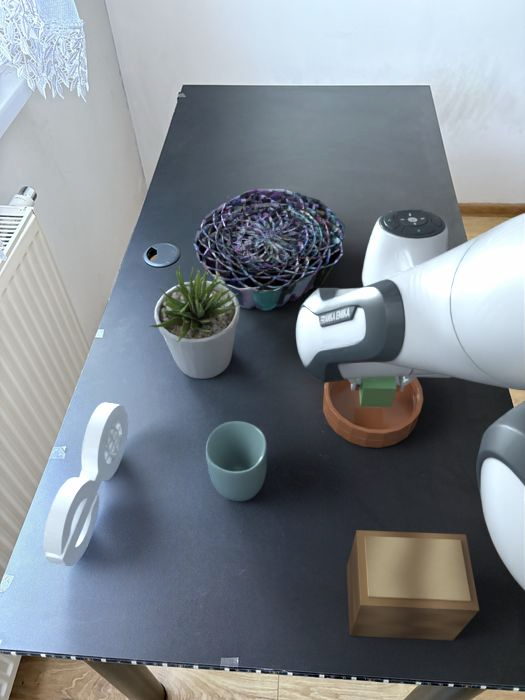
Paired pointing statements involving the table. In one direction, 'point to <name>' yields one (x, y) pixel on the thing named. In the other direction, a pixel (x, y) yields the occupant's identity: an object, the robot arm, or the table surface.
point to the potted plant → (199, 325)
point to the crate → (410, 585)
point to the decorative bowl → (270, 246)
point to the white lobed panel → (86, 486)
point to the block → (377, 392)
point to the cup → (237, 460)
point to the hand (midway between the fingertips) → (376, 387)
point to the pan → (371, 414)
